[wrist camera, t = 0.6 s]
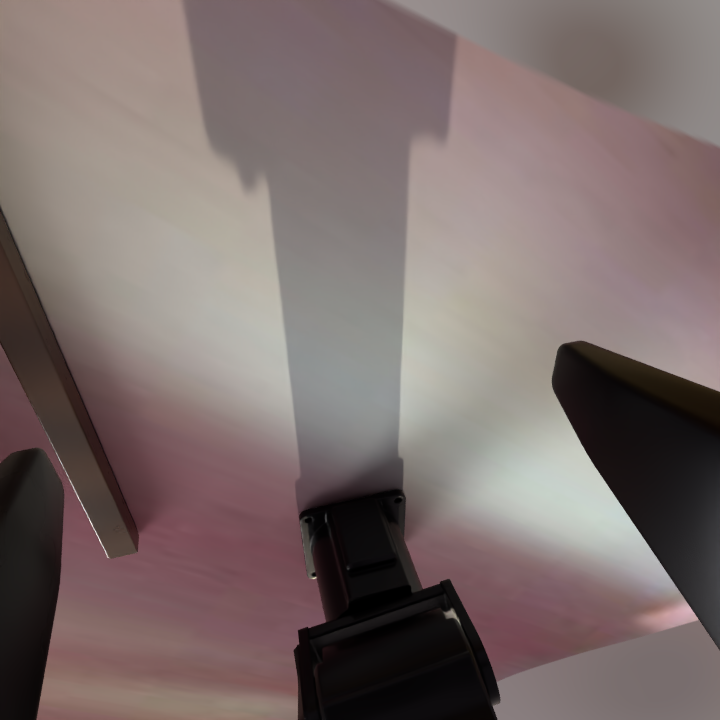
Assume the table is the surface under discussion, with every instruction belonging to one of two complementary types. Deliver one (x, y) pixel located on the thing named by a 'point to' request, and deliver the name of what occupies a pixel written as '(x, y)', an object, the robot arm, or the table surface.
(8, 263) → the brown wooden flat frame
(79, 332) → the table surface
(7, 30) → the table surface
